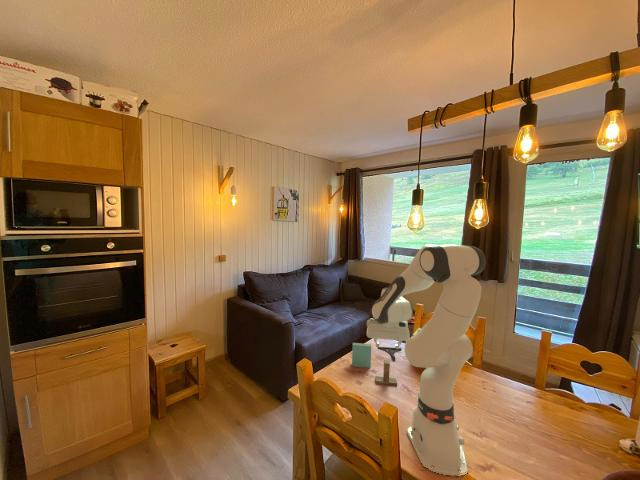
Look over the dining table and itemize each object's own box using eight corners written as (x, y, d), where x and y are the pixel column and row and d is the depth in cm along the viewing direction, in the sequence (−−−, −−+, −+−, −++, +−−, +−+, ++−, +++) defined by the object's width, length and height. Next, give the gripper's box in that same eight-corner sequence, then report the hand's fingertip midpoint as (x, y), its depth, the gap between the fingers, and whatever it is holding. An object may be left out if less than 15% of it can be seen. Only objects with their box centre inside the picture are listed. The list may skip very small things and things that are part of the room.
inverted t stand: (397, 386, 127) (398, 365, 126) (375, 383, 128) (376, 363, 128) (395, 381, 131) (396, 360, 130) (375, 378, 132) (376, 358, 132)
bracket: (381, 361, 151) (381, 356, 150) (377, 348, 165) (377, 344, 165) (406, 363, 149) (407, 358, 149) (400, 350, 164) (401, 346, 164)
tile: (370, 367, 142) (371, 346, 141) (351, 365, 144) (352, 344, 143) (370, 365, 145) (371, 344, 144) (352, 363, 146) (352, 342, 145)
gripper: (367, 320, 126) (365, 348, 127) (411, 324, 123) (409, 352, 124) (366, 315, 132) (365, 342, 133) (408, 319, 129) (407, 346, 130)
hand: (387, 347), depth 129 cm, fingers open, 8 cm apart
